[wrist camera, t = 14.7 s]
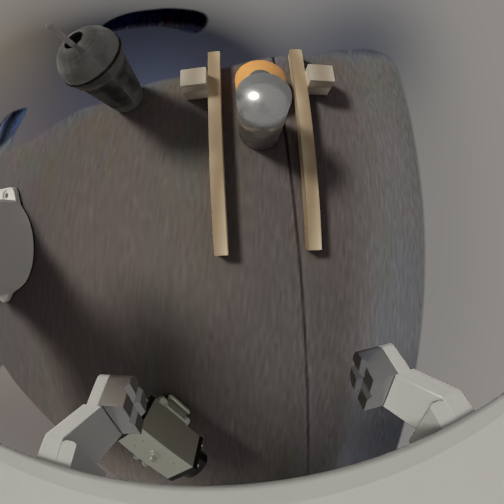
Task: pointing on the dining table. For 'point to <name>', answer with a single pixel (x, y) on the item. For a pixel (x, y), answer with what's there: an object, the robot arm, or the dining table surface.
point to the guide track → (303, 83)
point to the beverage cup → (98, 66)
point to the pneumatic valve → (167, 440)
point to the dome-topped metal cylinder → (262, 109)
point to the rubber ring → (257, 70)
